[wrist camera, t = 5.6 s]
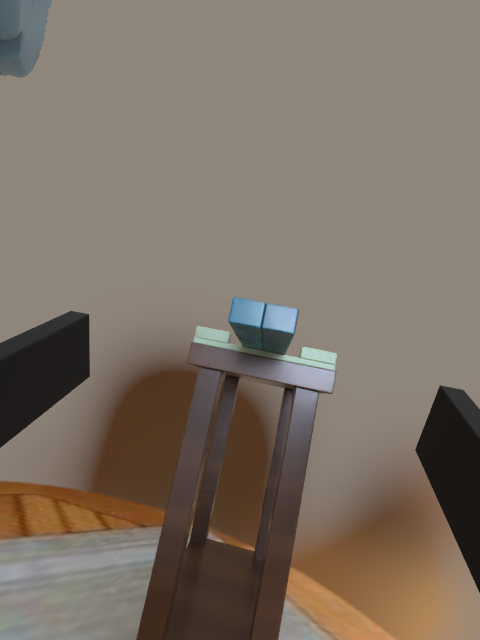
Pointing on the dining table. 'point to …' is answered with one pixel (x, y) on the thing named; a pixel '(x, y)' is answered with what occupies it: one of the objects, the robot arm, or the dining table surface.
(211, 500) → the stand
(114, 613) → the dining table surface
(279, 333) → the blue grooved block
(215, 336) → the tray
